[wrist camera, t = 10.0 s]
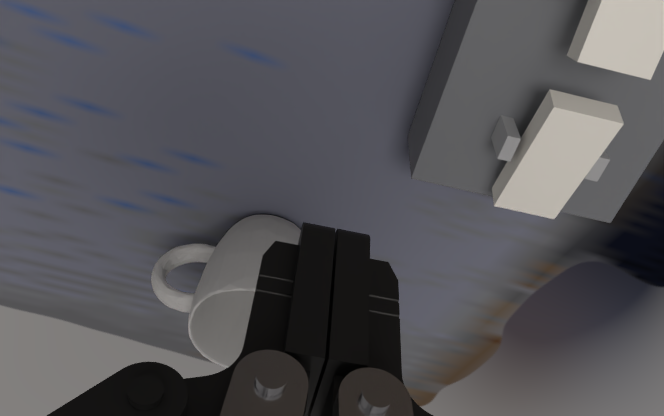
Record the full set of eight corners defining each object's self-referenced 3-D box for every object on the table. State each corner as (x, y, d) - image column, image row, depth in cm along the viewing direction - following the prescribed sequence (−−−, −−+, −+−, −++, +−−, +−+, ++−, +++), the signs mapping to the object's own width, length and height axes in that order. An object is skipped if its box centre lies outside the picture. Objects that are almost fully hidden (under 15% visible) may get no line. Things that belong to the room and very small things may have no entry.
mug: (328, 208, 50) (319, 297, 42) (316, 289, 55) (306, 382, 47) (168, 187, 49) (128, 273, 41) (172, 270, 55) (137, 361, 47)
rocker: (549, 89, 34) (553, 107, 33) (617, 105, 35) (623, 123, 34) (491, 187, 40) (493, 205, 39) (550, 200, 40) (554, 219, 39)
